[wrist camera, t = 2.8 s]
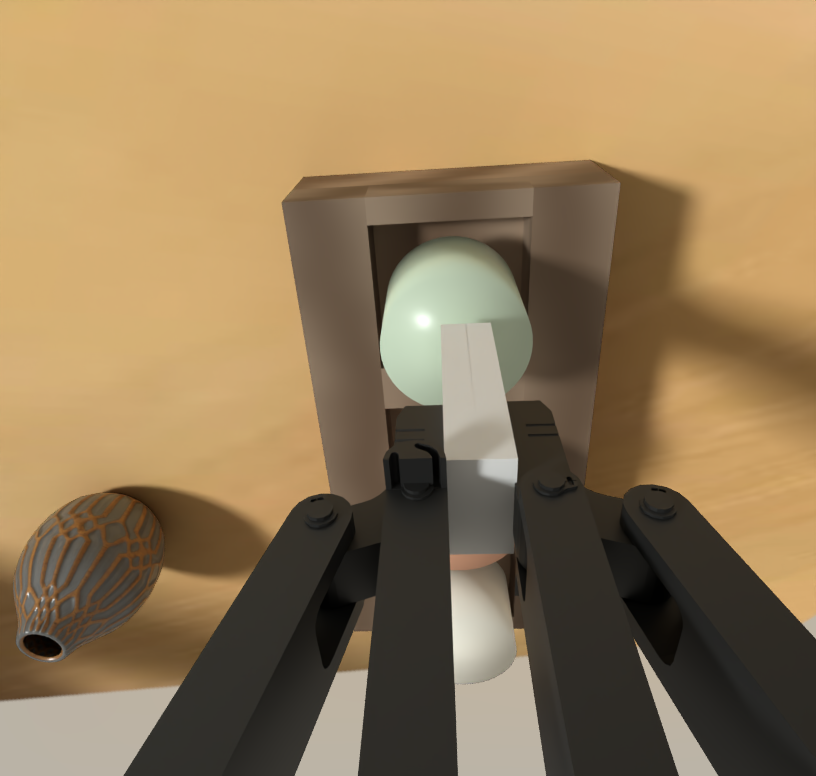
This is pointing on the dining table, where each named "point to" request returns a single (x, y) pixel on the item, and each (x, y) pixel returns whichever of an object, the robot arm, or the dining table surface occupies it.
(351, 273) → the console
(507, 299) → the button sage
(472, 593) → the button cream
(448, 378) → the robot arm
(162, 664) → the dining table surface
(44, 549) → the vase
